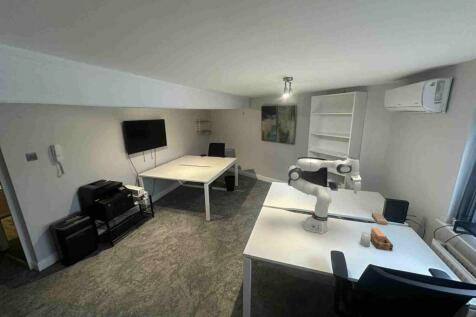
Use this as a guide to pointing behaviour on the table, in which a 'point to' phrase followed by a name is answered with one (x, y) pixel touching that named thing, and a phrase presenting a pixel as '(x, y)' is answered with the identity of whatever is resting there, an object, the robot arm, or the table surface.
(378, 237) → the block
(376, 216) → the brick
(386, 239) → the lane
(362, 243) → the white rounded piece
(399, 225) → the table surface
